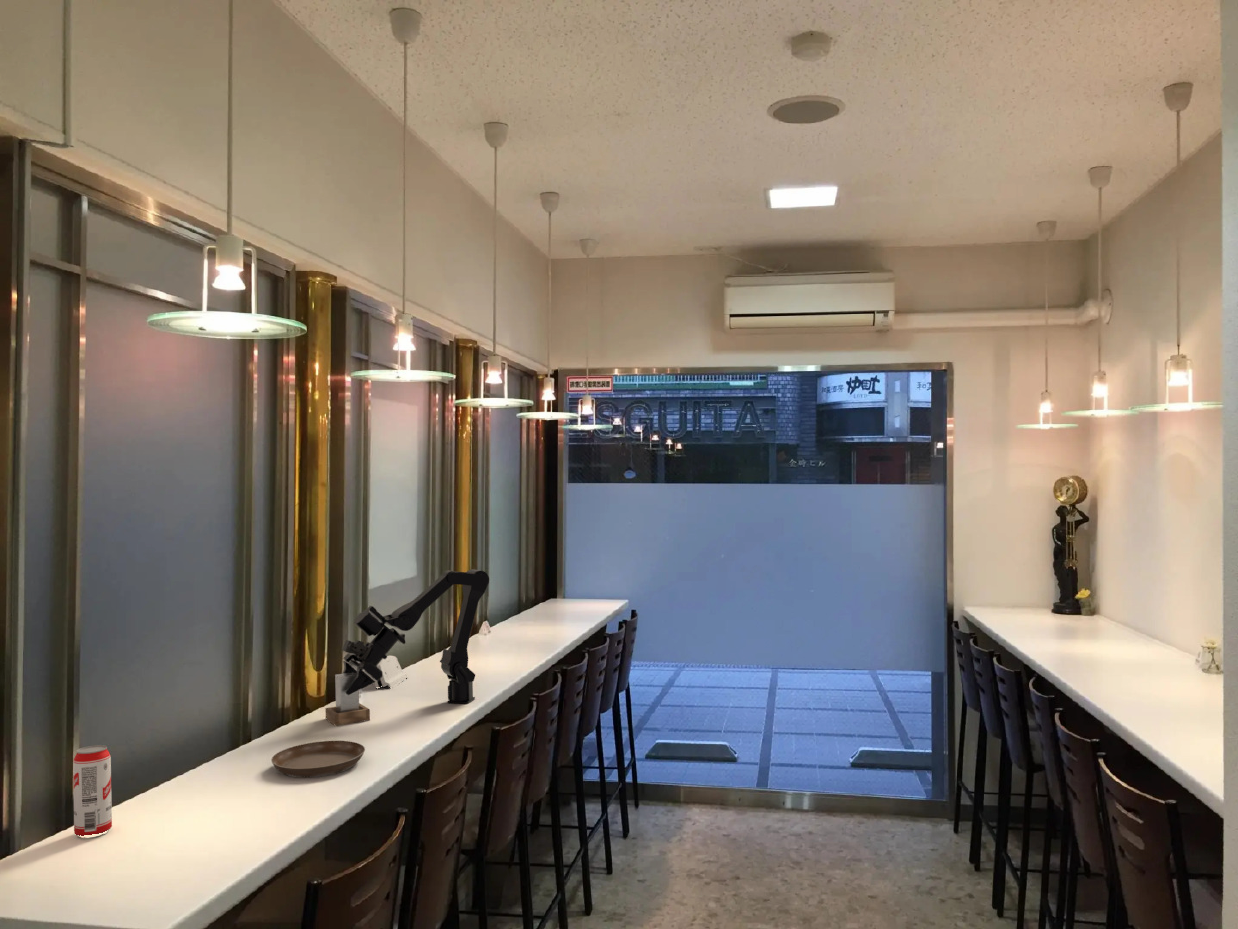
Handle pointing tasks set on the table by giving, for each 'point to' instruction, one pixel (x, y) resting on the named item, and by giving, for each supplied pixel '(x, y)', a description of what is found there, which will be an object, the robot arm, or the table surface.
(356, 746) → the plant saucer
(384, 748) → the table surface
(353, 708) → the grey block
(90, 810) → the beer can
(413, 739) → the table surface
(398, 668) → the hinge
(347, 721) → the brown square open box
